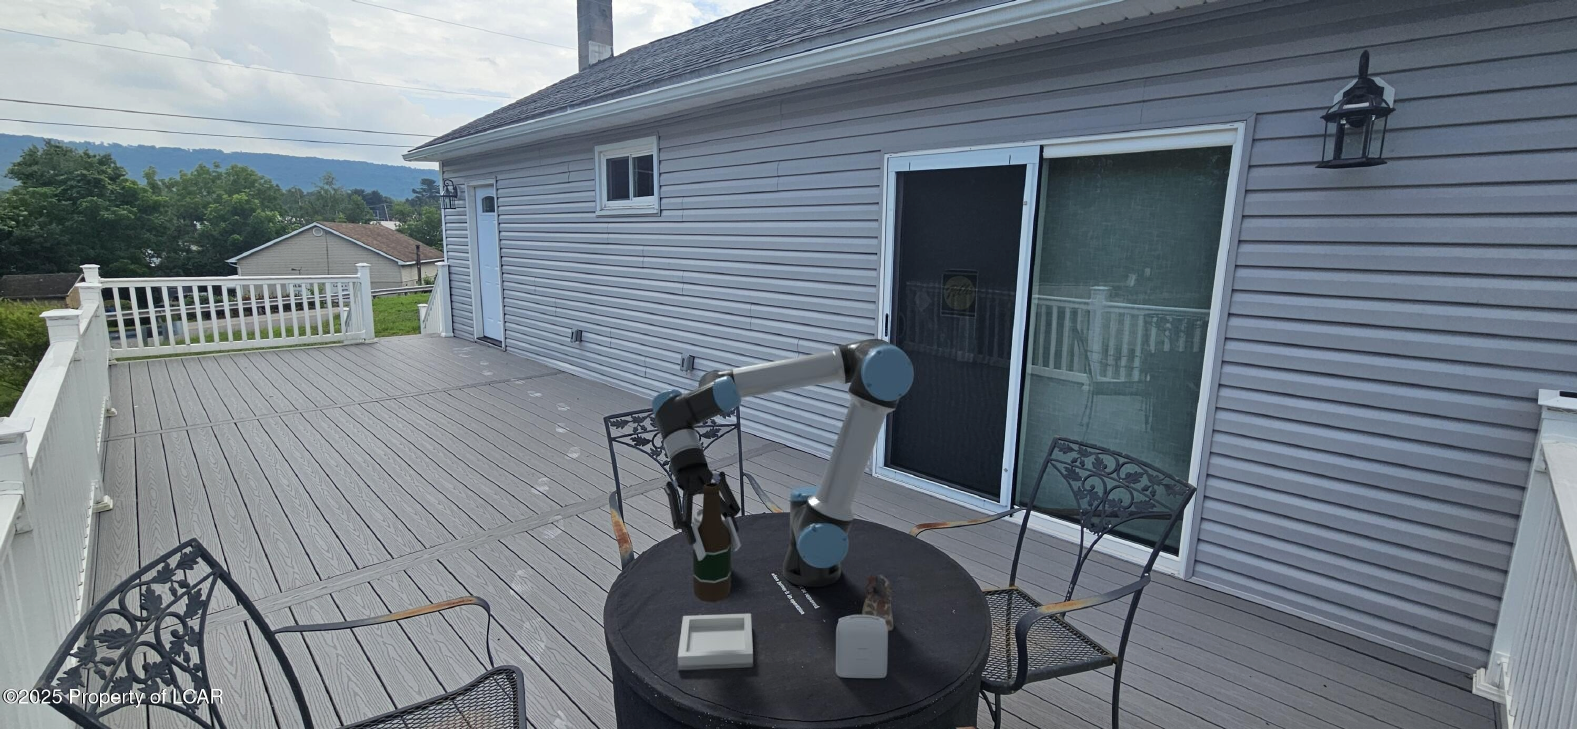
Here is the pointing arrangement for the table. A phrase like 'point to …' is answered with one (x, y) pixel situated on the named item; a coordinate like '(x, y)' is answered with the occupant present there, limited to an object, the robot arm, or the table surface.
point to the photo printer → (861, 647)
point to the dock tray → (715, 642)
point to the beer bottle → (712, 550)
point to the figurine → (879, 599)
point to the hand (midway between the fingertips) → (720, 553)
